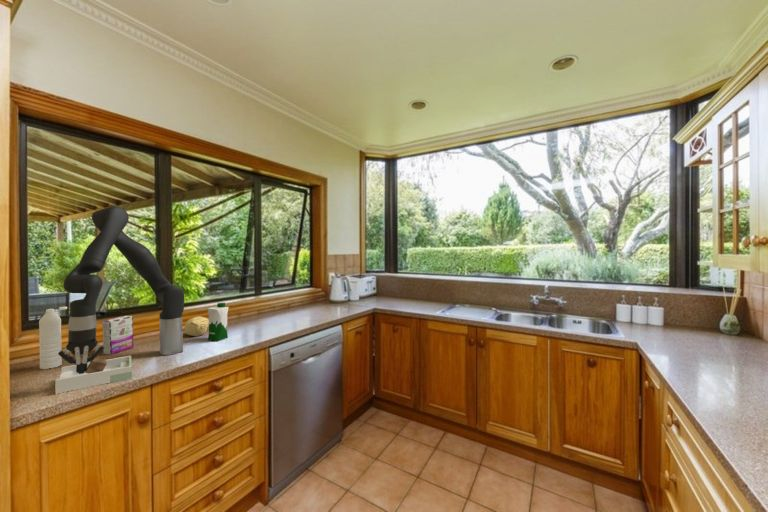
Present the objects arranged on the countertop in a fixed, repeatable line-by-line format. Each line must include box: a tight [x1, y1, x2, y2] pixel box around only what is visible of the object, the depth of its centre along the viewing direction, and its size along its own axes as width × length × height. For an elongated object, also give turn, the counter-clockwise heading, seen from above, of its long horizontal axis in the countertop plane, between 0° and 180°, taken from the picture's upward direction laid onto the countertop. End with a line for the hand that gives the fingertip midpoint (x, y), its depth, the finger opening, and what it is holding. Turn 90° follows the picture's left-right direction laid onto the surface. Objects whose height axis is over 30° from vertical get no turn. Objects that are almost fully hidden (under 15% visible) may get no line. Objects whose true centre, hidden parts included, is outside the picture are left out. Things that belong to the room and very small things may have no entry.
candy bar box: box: [102, 315, 134, 356], centre depth 154 cm, size 11×5×16 cm, turn 168°
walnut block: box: [86, 357, 108, 373], centre depth 120 cm, size 4×4×4 cm
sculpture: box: [183, 315, 209, 337], centre depth 183 cm, size 12×12×11 cm
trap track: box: [54, 355, 133, 395], centre depth 122 cm, size 21×15×5 cm
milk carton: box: [206, 302, 230, 342], centre depth 176 cm, size 9×9×20 cm
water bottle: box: [38, 306, 68, 370], centre depth 134 cm, size 9×6×25 cm
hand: (81, 373), depth 117 cm, fingers closed
